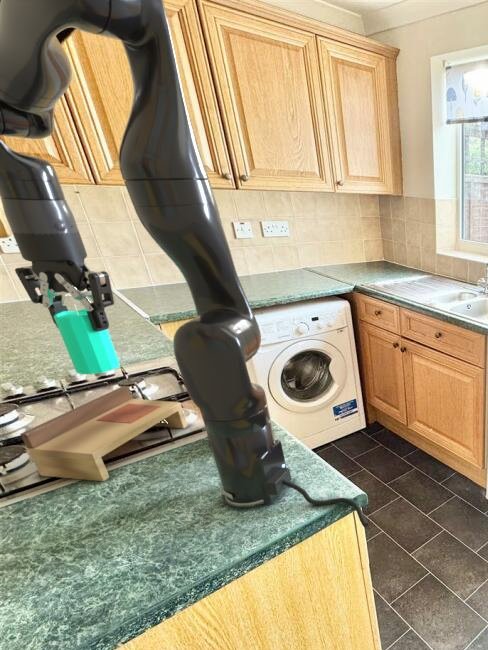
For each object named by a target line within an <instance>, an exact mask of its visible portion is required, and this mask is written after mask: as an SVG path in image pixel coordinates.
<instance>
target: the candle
mask: <svg viewBox="0 0 488 650" xmlns="http://www.w3.org/2000/svg"><path fill="white" fill-rule="evenodd" d="M73 306H74V309H75V310H68V311H62V312H59V313H57V314H55V315H54V319H55V321H56V324H57V326H58V328H57V329H58V332H59V333H60V336H61V338H62V342H63V344H64V345H65V348H66V350H67V353H68V355H69V358H70V360H71V363H72V365H73V367H74V368H73V369H74V370H75V373H77V374H80V375H95V374H102V373H106V372H110V371H113V370H116V369H118V368H120V366H121V365H120V361H119V358H118V355H117V352H116V350H115V347H114V344H113V342H112V339H111V335H110V333H109V330H108V329H106V330H103V331H100V332H99V331H94V330H93V328H92V325H91V322H90V320H89V317H88V314H87V312H86V311H88V310H87V309H86V308H83V309H77V305H76V304H75V303H74V304H73ZM56 324H55V325H56ZM57 326H56V327H57Z"/></svg>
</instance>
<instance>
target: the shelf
mask: <svg viewBox="0 0 488 650" xmlns="http://www.w3.org/2000/svg"><path fill="white" fill-rule="evenodd" d="M164 419H165V420H166V421H167V422H168V424H167V423H166V424H165V423H159V422H160V421H162V420H164ZM152 427H160V428H161V427H162V428H173V429H185V428H187V427H188V423H187V420H186V416H185V412H184V410H183V407H182V403H181V402H179V401H165V400H156V399H155V400H154V399H142V398H141V399H140V398H134V397H133V394H132V392H131V389H130V386H127V385H123V386H121V387H119V388H116V389H114V390H112V391H110V392H107V393H106V394H104V395H101V396H99V397H97V398H95V399H92V400H90V401H88V402H85V403H84V404H82V405H80V406H78V407H74V408H73V409H71V410H69V411H66V412H64V413H62V414H60V415H58V416H56V417H53V418H51V419H50V420H47V421H45V422H43V423H41V424H39V425H37V426H34V427H32V428H30V429H27V430H25V431H24V432H21V433H20V437H21V439H22V441H23V443H24V445H25V447H26V449H27V451H28V453H29V454H30V456H31V458H32V460H33V462H34V464H35V466H36V469H37V470H38V473H39V474H40V476H42V477H51V478H52V477H53V478H62V479H64V478H65V479H73V480H74V479H76V480H87V481H95V482H96V481H97V482H105V481H106V480H108V479H109V478H110V474H109V472H108V470H107V467H106V466H105V462H104V461H103V458H102V457H105V456H106V455H107V454H109V453H111V452H112V451H114V450H115V449H117V448H119V447H120V446H122V445H125V444H126V443H127V442H129V441H131V440H132V439H134V438H136V437H137V436H138V435H140V434H142V433H144V432H145V431H147V430H149V429H150V428H152Z"/></svg>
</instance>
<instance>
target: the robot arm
mask: <svg viewBox="0 0 488 650" xmlns="http://www.w3.org/2000/svg"><path fill="white" fill-rule="evenodd" d="M166 10H167V9H166V6H165V4H164V0H0V201H1V204H2V208H3V213H4V216H5V218H6V221H7V223H8V226H9V228H10V230H11V233H12V235H13V238H14V240H15V243H16V245H17V247H18V250H19V253H20V255H21V257H22V259H24V260H25V261H27V262H31V265H30V266H29V265H28V266H21V267H16V268H15V269H14V271H15V274H16V276H17V277H18V279H19V281H20V283H21V284H22V286H23V287H24V288H23V289H24V290H25V291H26V294H27V295H28V297H29V299H30V301H31V302H32V303H33V304H36V305H37V304H40V305H42V306H43V307H44V308H47V309H48V312H49V314H50V317H51V320H52V322H53V323H54V325H55V327H56V328H57V329H58V326H57V324H56V321H55V319H54V315H55V314H57V313H59V312H62V311H69V310H68V306H67V305H65V296H66V295H68V294H70V295H71V297H72V298H73V299H74V300H76V301H79V302H80V304H81V305H82V306H83V307H84V309H87V310H88V311H86V312H87V314H88V317H89V320H90V322H91V325H92V328H93V330H94V331H99V332H100V331H103V330H106V329H107V330H108V329H109V327H110V322H109V320H108V317H107V314H106V311H105V308H107V307H111V306H113V305H115V300H114V296H113V290H112V285H111V281H110V280H111V279H110V276H109V273H108V272H107V271H105V270H103V271H94V270H90V268H89V267H88V266H87V264H86V263H85V259H87V257H88V253H87V250H86V247H85V245H84V242H83V238H82V236H81V233H80V229H79V227H78V225H77V221H76V218H75V216H74V214H73V212H72V209H71V208H70V205H69V204H68V202H67V200H66V197H65V194H64V190H63V188H62V185H61V182H60V179H59V176H58V174H57V171H56V169H55V167H54V166H53V164H52V163H51V162H50V161H48V160H46V159H45V158H41V157H37V156H32V155H29V154H25V153H20V152H18V151H16V150H13V149H12V148H11V147H10V146H9V145H8V144H7V143H5V141H4V140H3V139H2V138H1V137H11V138H21V139H22V138H23V139H29V140H30V139H31V140H41V139H46V138H48V137H50V136H52V135H53V134H54V132H55V129H56V128H55V127H56V125H55V109H56V104H57V103H58V101H60V99H61V98H62V97H63V95H64V94H65V93H66V92H67V91H68V89H69V87H70V85H71V83H72V79H73V78H72V77H73V75H72V74H73V70H72V65H71V62H70V59H69V57H68V55H67V53H66V51H65V49H64V47H63V46H62V44H61V43H60V41H59V39H58V38H57V35H58V34H59V33H61V32H62V31H64V30H66V29H68V28H73V29H76V30H79V31H81V32H84V33H88V34H93V35H96V36H100V37H104V38H109V39H114V40H116V41H120V42H121V44H122V46H123V50H124V53H125V55H126V58H127V62H128V67H129V70H130V75H131V80H132V86H133V88H132V89H133V95H132V96H133V97H132V104H131V108H130V112H129V116H128V119H127V122H126V124H125V127H124V130H123V134H122V138H121V141H120V142H121V143H120V144H119V151H118V167H119V171H120V174H121V178H122V181H123V183H124V186H125V188H126V190H127V191H126V192H127V193H128V196H129V198H130V201H131V204H132V206H133V210H134V212H135V215H136V216H137V219H138V220H139V222H140V224H141V225H142V227H143V228H144V229H145V230H146V232H147V233H148V235H149V236H150V238H151V239H152V240H154V242H155V243H156V245H157V246H158V247H159V248H160V249H161V250H162V251H163V252H164V254H165V255H166V256H167V257H168V258H169V259H170V260H171V261H172V263H174V265H175V267H177V269H178V271H179V272H180V273H181V275H182V276H183V278H184V280H185V282H186V285H187V287H188V289H189V291H190V294H191V295H190V296H191V298H192V301H193V305H194V308H195V312H196V317H194V318H192V319H190V320H187V321H186V322H184V323H182V324H181V325H180V326H179V327H178V329H176V331H175V332H174V335H173V340H172V346H173V347H172V348H173V352H174V356H175V361H176V364H177V367H178V370H179V372H180V375H181V378H182V380H183V383H184V385H185V388H186V391H187V394H188V396H189V399H190V400H191V401H192V402H193V403H194V405H195V406H196V407H198V409H199V411H200V414H201V418H202V423H203V425H204V428H205V432H206V435H207V438H208V442H209V446H210V449H211V452H212V456H213V459H214V463H215V466H216V469H217V474H218V476H219V479H220V483H221V486H222V488H220V491H221V494H223V496H224V499H225V502H226V503H227V504H228V505H229V506H231V507H233V508H237V509H247V508H248V509H249V508H254V507H258V506H261V505H271V504H272V503H274V502H275V500H276V499H277V498H278V497H279V495H281V494H282V493H283V491H284V490H285V489H286V488H287V487H289V488H291V489H293V490H295V491H296V492H298V493H300V494H301V496H303V498H304V499H305V501H306V502H307V503H309V504H311V505H315V506H327V505H334V504H338V503H343V504H344V503H345V504H347V505H350V506H352V507H353V509H355V511H356V515H357V517H358V520H359V521H360V523H361V525H362V527H363V528H367V527H368V526H369V524H368V521H367V520H366V517H365V515H364V513H363V511H362V508H361V507H360V505H359V504H358V503H357V502H356V501H354V500H353V499H350V498H347V497H338V498H337V497H336V498H332V499H326V500H325V499H324V500H317V499H313V498H312V497H311V496H310V495H309V493H308V492H307V491H306V489H304V488H303V487H301V486H299V484H296V483H294V482H292V474H291V470H290V468H289V467H287V465H286V464H287V463H286V460H285V454H284V450H283V444H282V441H281V440H280V439H276V437H275V433H274V429H273V425H272V420H271V414H270V410H269V406H268V399H267V395H266V391H265V389H264V388H263V386H261V384H258V383H255V382H252V381H251V377H250V373H249V371H248V366H247V363H248V362H249V361H250V360H251V359H252V358H254V356H256V354H258V351H259V349H260V347H261V343H262V334H261V329H260V327H259V324H258V321H257V319H256V317H255V313H254V312H253V309H252V307H251V305H250V302H249V300H248V298H247V295H246V294H245V290H244V288H243V285H242V283H241V281H240V279H239V275H238V273H237V270H236V267H235V263H234V259H233V256H232V252H231V248H230V245H229V242H228V239H227V236H226V232H225V229H224V226H223V222H222V219H221V215H220V212H219V206H218V203H217V200H216V196H215V194H214V190H213V187H212V184H211V180H209V179H210V177H209V174H208V172H207V169H206V165H205V163H204V160H203V157H202V154H201V150H200V146H199V144H198V140H197V137H196V133H195V130H194V125H193V123H192V119H191V117H190V112H189V109H188V105H187V100H186V97H185V93H184V88H183V84H182V80H181V76H180V70H179V64H178V61H177V60H178V59H177V56H176V51H175V46H174V42H173V36H172V32H171V27H170V23H169V19H168V18H169V17H168V14H167V11H166ZM36 289H38V290H39V294H38V292H37V290H36ZM85 290H86V291H85ZM90 300H91V301H92V302H91V301H90Z"/></svg>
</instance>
